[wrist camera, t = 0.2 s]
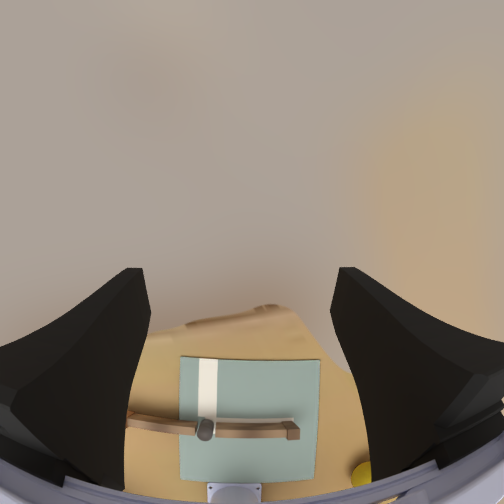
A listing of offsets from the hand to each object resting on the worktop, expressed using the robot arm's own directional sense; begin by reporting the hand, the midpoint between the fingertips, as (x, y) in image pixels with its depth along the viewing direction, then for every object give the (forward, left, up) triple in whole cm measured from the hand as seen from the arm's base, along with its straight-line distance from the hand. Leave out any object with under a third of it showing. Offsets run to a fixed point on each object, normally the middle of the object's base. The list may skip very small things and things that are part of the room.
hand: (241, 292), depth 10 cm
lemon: (-24, -21, -31) cm, 45 cm away
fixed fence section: (-14, -2, -31) cm, 34 cm away
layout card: (-14, -3, -31) cm, 34 cm away
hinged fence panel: (-14, +10, -30) cm, 35 cm away
